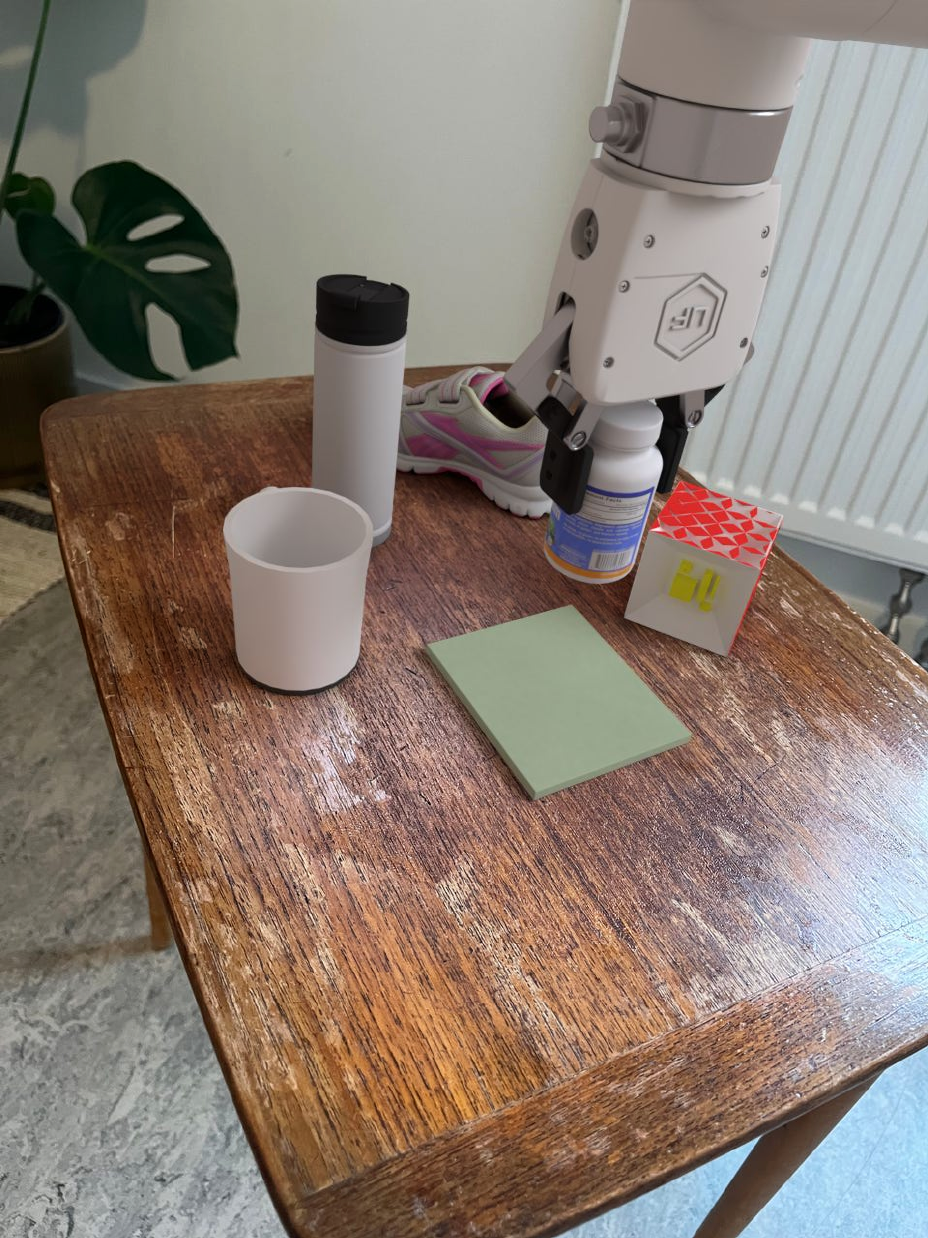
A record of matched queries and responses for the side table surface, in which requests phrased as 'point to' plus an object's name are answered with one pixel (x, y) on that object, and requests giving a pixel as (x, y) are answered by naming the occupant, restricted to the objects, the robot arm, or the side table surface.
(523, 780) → the mat
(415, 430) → the running shoe
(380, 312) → the travel mug
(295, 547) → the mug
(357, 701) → the side table surface
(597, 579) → the pill bottle
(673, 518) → the red patterned cube box
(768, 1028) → the side table surface
